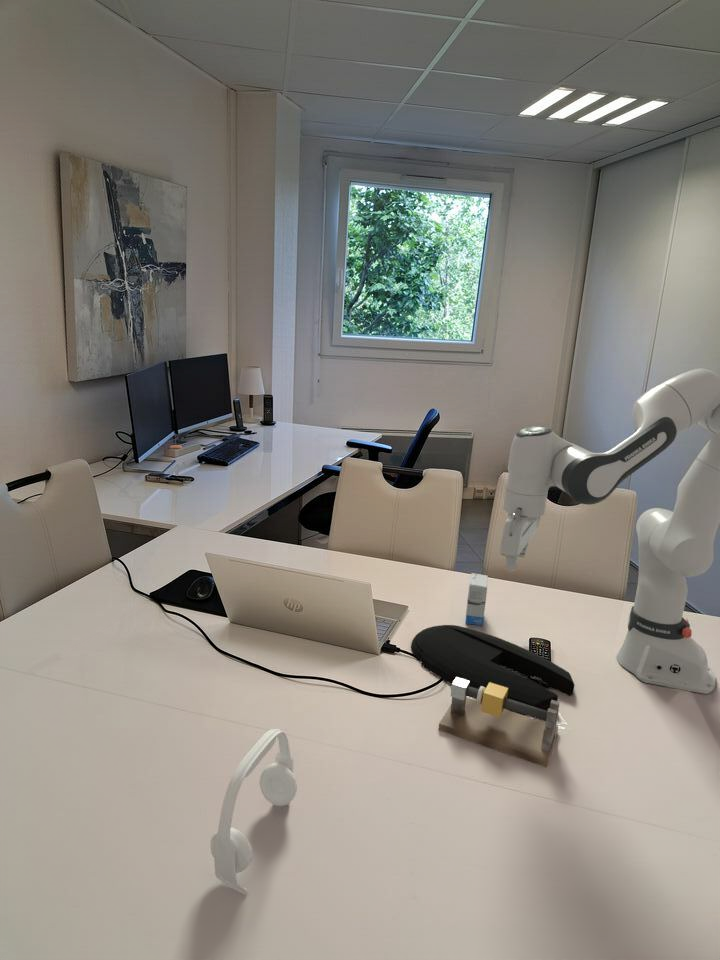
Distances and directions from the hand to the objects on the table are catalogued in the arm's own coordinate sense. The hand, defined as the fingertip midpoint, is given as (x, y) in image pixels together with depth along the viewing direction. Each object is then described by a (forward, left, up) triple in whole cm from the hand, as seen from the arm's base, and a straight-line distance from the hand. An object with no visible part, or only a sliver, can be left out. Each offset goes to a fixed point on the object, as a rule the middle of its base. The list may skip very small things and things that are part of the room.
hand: (516, 562), depth 143 cm
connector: (+5, +16, -30) cm, 34 cm away
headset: (+23, +64, -31) cm, 75 cm away
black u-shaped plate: (+5, -7, -32) cm, 33 cm away
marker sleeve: (-2, +16, -26) cm, 31 cm away
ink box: (+15, -30, -31) cm, 46 cm away
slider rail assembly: (-4, +16, -31) cm, 35 cm away
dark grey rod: (-6, +16, -26) cm, 31 cm away
